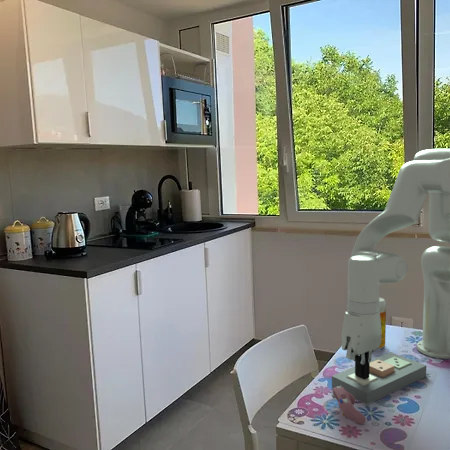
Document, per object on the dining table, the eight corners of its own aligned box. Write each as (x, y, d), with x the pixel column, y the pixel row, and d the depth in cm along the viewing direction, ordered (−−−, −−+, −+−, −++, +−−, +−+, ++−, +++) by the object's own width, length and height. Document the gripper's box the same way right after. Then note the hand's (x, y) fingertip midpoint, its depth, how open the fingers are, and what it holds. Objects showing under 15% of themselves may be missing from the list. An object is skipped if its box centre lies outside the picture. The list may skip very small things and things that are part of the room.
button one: (360, 381, 120) (360, 370, 119) (376, 388, 116) (377, 377, 115) (347, 387, 117) (347, 375, 117) (363, 394, 113) (363, 383, 113)
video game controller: (339, 408, 111) (326, 384, 110) (356, 400, 110) (343, 376, 110) (349, 432, 101) (335, 406, 100) (368, 423, 101) (354, 397, 100)
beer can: (386, 350, 140) (387, 302, 138) (365, 349, 141) (366, 301, 139) (383, 342, 145) (384, 296, 143) (363, 341, 147) (364, 296, 145)
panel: (390, 362, 132) (390, 352, 131) (426, 376, 123) (426, 365, 122) (331, 387, 118) (331, 375, 118) (367, 404, 109) (367, 392, 109)
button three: (394, 366, 128) (394, 356, 127) (410, 373, 124) (410, 362, 123) (382, 371, 125) (382, 361, 125) (398, 378, 121) (399, 367, 120)
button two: (378, 370, 124) (378, 359, 123) (394, 376, 120) (394, 365, 119) (365, 375, 121) (366, 364, 120) (381, 382, 117) (382, 371, 116)
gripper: (370, 297, 121) (369, 363, 123) (330, 308, 112) (330, 379, 115) (395, 303, 115) (393, 373, 117) (354, 316, 106) (354, 391, 109)
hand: (362, 376), depth 116 cm, fingers closed
